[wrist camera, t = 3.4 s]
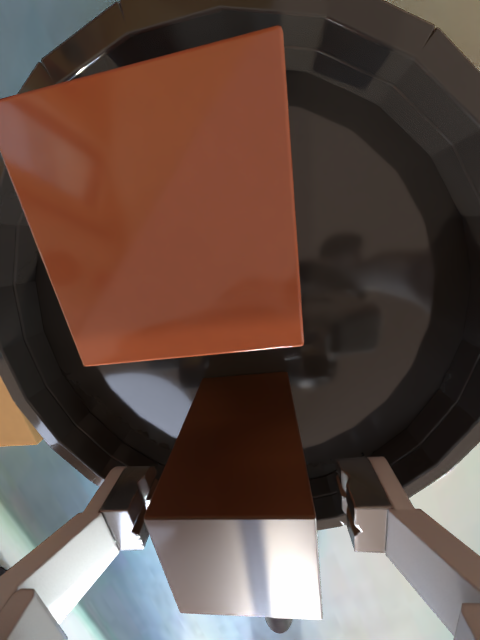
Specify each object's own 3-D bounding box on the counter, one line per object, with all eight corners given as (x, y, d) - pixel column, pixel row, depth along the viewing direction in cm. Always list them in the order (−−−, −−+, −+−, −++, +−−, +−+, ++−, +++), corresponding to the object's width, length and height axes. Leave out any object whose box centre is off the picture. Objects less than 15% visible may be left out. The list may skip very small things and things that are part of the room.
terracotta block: (268, 170, 8) (283, 19, 3) (279, 283, 10) (305, 347, 4) (160, 190, 9) (-23, 101, 3) (183, 295, 10) (82, 368, 4)
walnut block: (287, 370, 11) (316, 517, 5) (294, 440, 12) (323, 621, 6) (202, 377, 11) (141, 518, 6) (216, 443, 12) (179, 614, 7)
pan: (528, -28, 7) (676, -174, 4) (445, 481, 13) (488, 537, 10) (-48, 122, 9) (-155, 81, 7) (110, 488, 15) (81, 535, 13)
